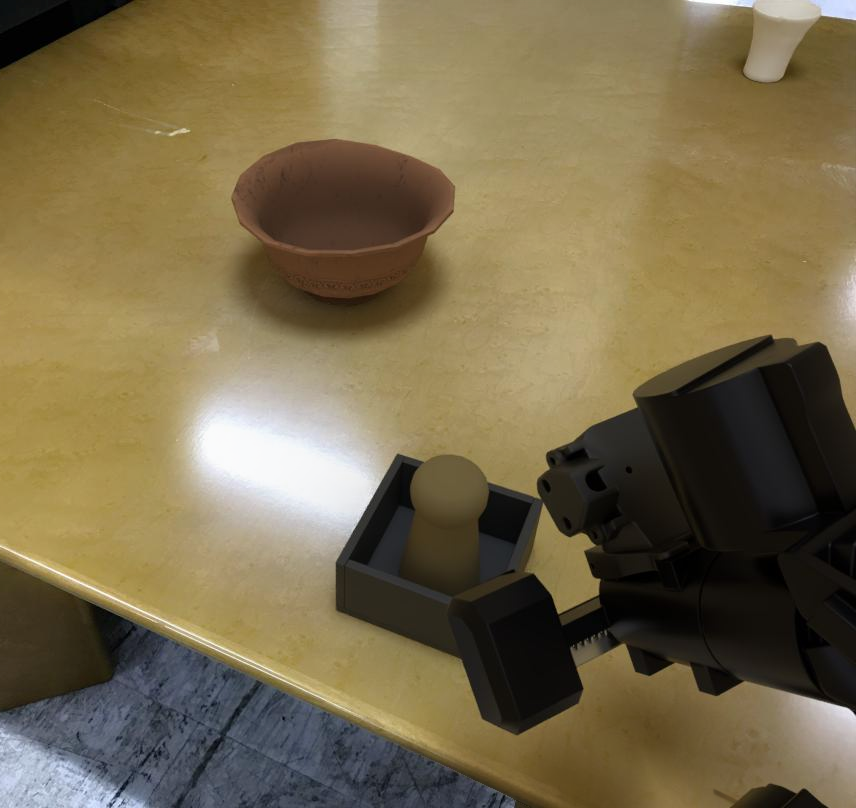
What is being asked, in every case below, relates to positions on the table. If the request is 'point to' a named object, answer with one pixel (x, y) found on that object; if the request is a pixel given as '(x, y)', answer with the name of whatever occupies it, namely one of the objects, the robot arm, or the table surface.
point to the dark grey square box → (384, 545)
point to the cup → (777, 36)
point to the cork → (445, 525)
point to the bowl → (342, 215)
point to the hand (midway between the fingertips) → (544, 574)
